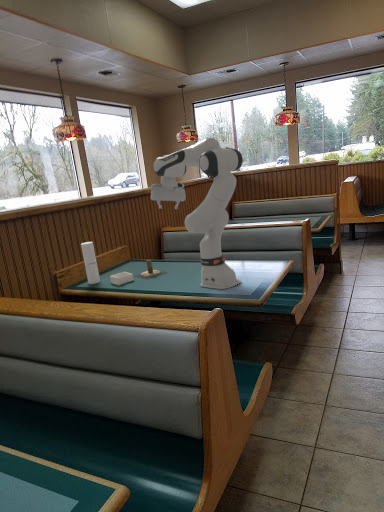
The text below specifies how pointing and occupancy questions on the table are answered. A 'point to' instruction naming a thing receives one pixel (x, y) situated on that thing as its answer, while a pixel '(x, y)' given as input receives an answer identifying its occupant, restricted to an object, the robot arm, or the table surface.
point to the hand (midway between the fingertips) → (168, 208)
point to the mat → (150, 277)
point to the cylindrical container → (90, 262)
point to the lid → (150, 270)
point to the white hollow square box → (121, 278)
